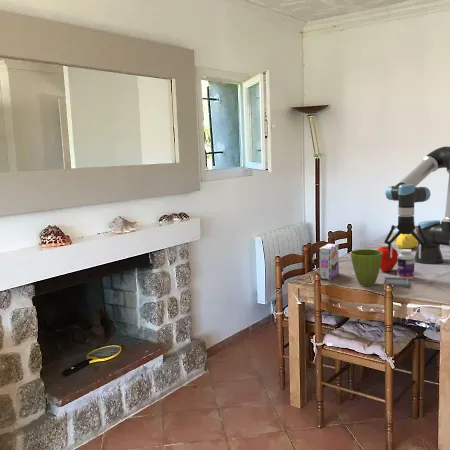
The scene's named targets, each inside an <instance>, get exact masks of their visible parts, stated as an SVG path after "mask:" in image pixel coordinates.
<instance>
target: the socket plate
mask: <svg viewBox="0 0 450 450" xmlns="http://www.w3.org/2000/svg"><path fill="white" fill-rule="evenodd" d="M387 283H389V284H392V285H393V287H392V288H395V287H406V288H405V289H409V287H410V286H409V284H410V283H409V279H408V278H398V277H392V276H391V277H390V276H389V277H386V276H384V277H383V284H384V285H385V284H387ZM384 285H383V286H384ZM407 287H408V288H407Z"/></svg>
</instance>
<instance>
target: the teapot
mask: <svg viewBox="0 0 450 450" xmlns="http://www.w3.org/2000/svg"><path fill="white" fill-rule="evenodd" d="M394 236H395V234H393V233H392V234H391V236H390V238H391V239H392V238H393V237H394ZM393 242H395V244H396V246H397V247H398V248H399V250H402V249H409V250H413V249H414V248H415V247H417V246H418V241H417V240H416V238H415V237H414V236H413V235H412V234H400V235H399V236H398V237H397V238H396V239H395V240H394V241H393Z"/></svg>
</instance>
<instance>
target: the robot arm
mask: <svg viewBox="0 0 450 450" xmlns="http://www.w3.org/2000/svg"><path fill="white" fill-rule="evenodd" d="M444 168H445V169H446V172H447V173H448V182H447V183H448V184H447V193H446V201H445V203H446V204H445V212H444V218H443V219H441V221H440V220H439V219H437V220H436V219H435V220H425V221H420V222H419V223H418V224H417V225H415V204H416V203H424V202H427V201H428V200H429V199H430V197H431V195H432V194H431V191H430V189H429V188H428V187H426V186H418V185H419V184H420V183H422V181H423V180H425V178H427V177H428V176H430V174H431V173H432V172H433V173H434V172H436V171H438V170H439V169H444ZM384 194H385V197H386V199H388V201H389V200H390V201H396V202H398V205H397V209H398V212H397V215H398V217H397V219H398V220H397V225H394V224H391V227H390V230H389V232H388V234H387V235H386V238H384V244H387V246H388V251H390V258H392V247H393V244H392V243H393V242H395V241H394V240H395V239H396V238H398V236H399V235H400V234H412V235H413V236H414V237H415V238H416V240H417V241H418V243H417V249H416V251H415V254H414V262H415V263H419V264H428V265H431V264H432V265H434V264H442V263H443V262H444V257H443V253H442V251H441V247H440V246H446V247H450V146H441V147H439V148H436V149H434V150H433V151H431V152H429V153H427V155H425V156H424V157H423V158H422V159H421V162H420V163H418V165H417V166H416V167H415V168H414V169H412V170H411V171H410V172H409V173H407V175H406V176H404V178H402V179H401V180H400V181H399V182H398V183H397V184H396V185H389V186H387V188H386V189H385V193H384ZM396 229H397V230H398V231H397V232H396V233H395V234H394V237H393V238H392V237H391V235H393V232H394V231H395V230H396ZM415 229H416V230H417V234H416V233H415V232H414V230H415ZM390 238H391V239H390Z"/></svg>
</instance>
